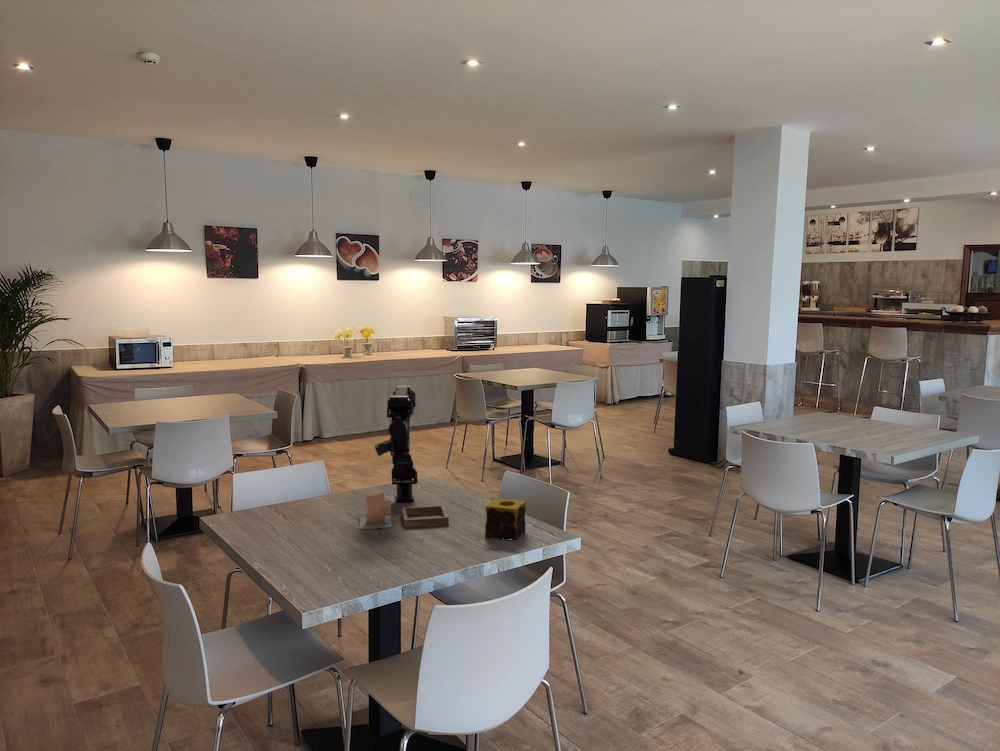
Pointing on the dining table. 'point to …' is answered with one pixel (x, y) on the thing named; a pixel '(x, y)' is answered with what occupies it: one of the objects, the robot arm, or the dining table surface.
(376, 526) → the pad
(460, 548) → the dining table surface
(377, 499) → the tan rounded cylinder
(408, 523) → the wooden picture frame
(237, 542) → the dining table surface
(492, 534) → the candle
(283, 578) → the dining table surface
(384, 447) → the robot arm
